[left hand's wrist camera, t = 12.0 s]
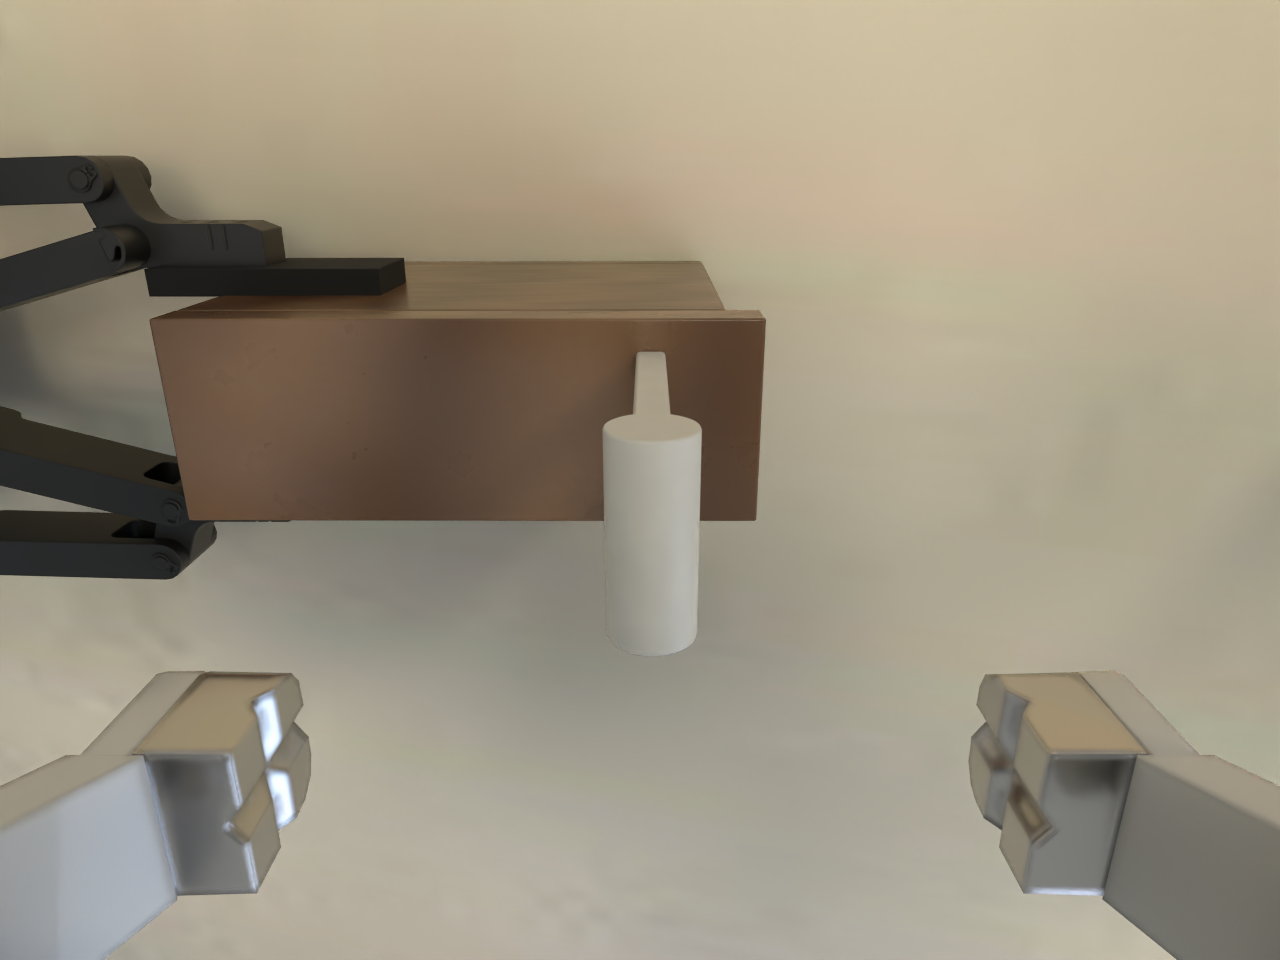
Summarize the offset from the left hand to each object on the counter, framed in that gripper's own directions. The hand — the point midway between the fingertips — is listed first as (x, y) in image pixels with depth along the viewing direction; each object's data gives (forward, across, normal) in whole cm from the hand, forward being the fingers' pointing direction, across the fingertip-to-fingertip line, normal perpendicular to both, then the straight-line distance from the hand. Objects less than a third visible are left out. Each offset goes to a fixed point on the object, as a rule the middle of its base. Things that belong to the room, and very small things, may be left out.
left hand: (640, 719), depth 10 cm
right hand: (+17, -7, 0) cm, 19 cm away
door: (+13, -4, 0) cm, 14 cm away
